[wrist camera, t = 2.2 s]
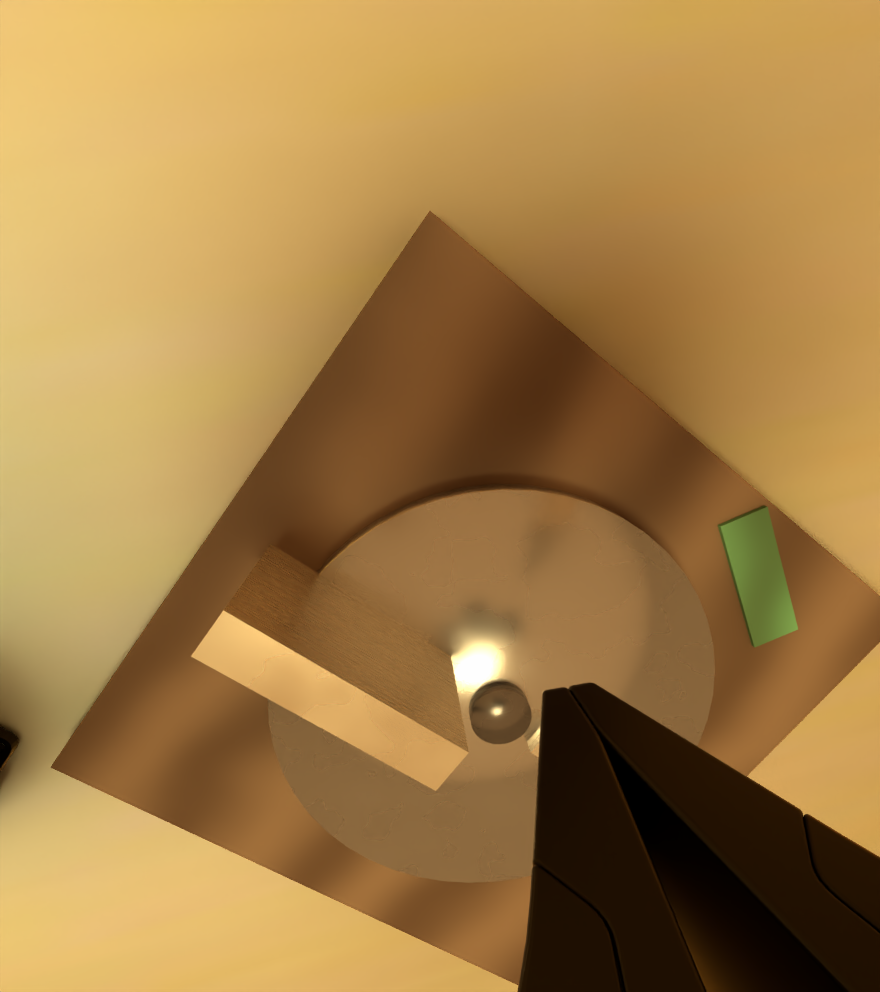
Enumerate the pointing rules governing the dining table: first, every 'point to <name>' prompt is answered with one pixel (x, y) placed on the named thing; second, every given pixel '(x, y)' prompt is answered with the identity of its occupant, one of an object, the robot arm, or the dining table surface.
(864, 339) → the dining table surface
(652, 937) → the robot arm
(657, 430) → the board
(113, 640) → the dining table surface
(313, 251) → the dining table surface
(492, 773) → the dial
